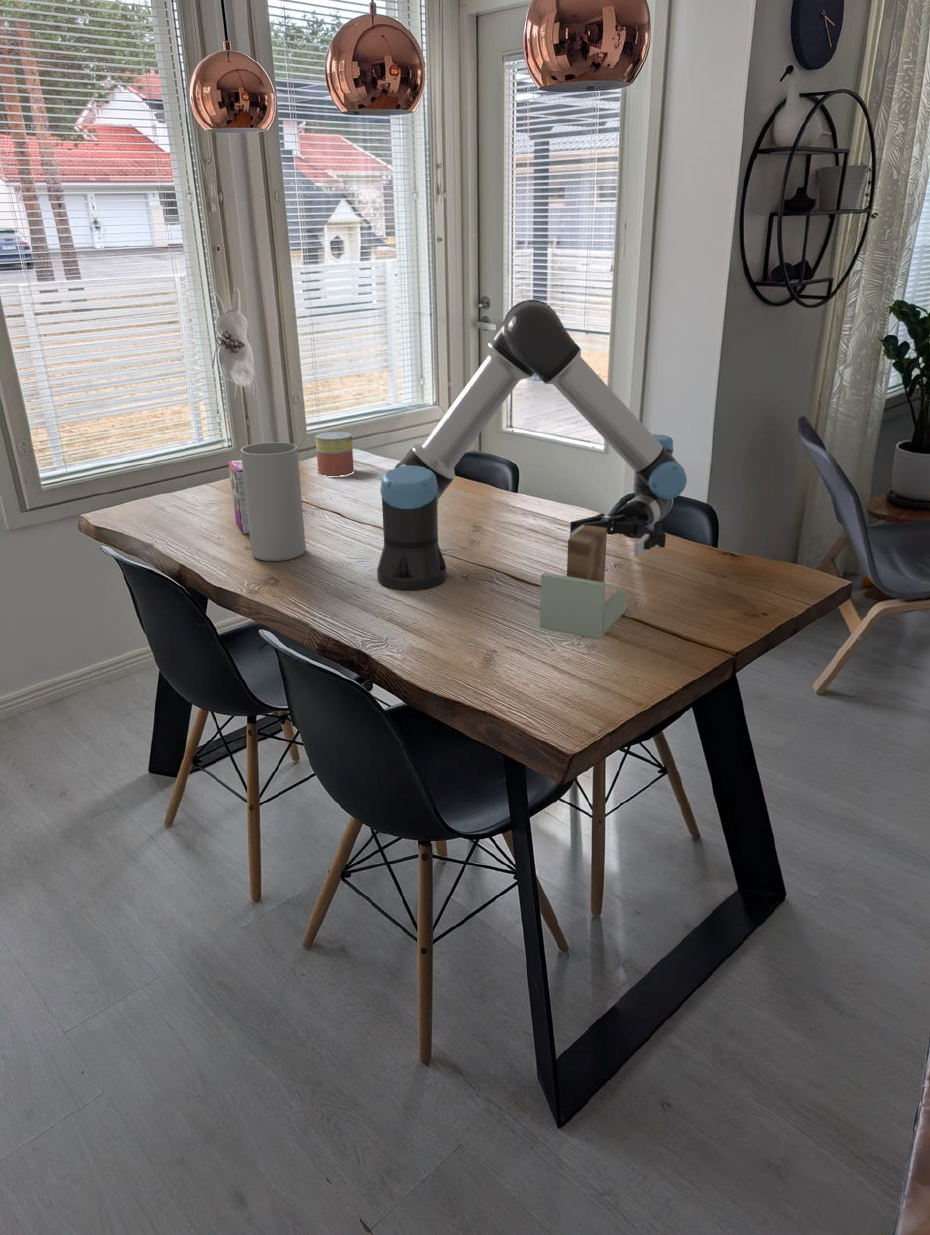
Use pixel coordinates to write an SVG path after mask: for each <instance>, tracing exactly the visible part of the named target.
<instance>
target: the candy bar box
mask: <svg viewBox="0 0 930 1235" xmlns="http://www.w3.org/2000/svg"><path fill="white" fill-rule="evenodd" d="M228 471H229V478H230V484H231V485H230V487H231V493H232V501H233V509H234V510H233V511H234V518H235V523H236V525H237V526H238V528H239V530H240V532H241V534H242V535H250V532H249V523H248V513H247V504H246V495H245V486H244V477H243V467H242V459H237V460H230V461H229V460H228Z"/></svg>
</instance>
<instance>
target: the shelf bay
mask: <svg viewBox="0 0 930 1235" xmlns="http://www.w3.org/2000/svg"><path fill="white" fill-rule="evenodd" d="M605 593H606V582H605V581H604V582H599V581H593V580H586V579H580V578H574V577H568V576H567V575H562V574H556V573H555V574H554V573H550V572H543V573H541V574H540V602H539V604H540V605H539V628H540V629H546V630H553V631H558V632H561V633H567V634H572V635H577V636H583V637H589V638H593V639H598V640H600V639H601V638H602V637H603V636H604V635H605V634H606V632H608V630H609V629H610V628H611V627H612V626H613V625H614V624H616V622H617V621H618V620H619V619H620V617H621V616H623V614H624V613H625V612H626V611H627V610H628V606H627V605H625V604H626V590H624V589H623V590H622V589H617V590H616V591H615V592H614V593H613V594H612V595H610V597H609V598H608V599H607V600H606V601H605V599H606V597H605V595H606V594H605Z"/></svg>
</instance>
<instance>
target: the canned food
mask: <svg viewBox="0 0 930 1235" xmlns="http://www.w3.org/2000/svg"><path fill="white" fill-rule="evenodd" d="M314 437H315V448H316V462H317V463H316V464H317V474H318V473H319V474H321V475H326V476H340V475H347V474H350V473H352V472H353V471H354V472H355V469H354V451H353V450H354V449H353V434H352V433H351V432H347V431H326V432H320V433H318V434H315V436H314Z"/></svg>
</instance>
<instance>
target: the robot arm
mask: <svg viewBox="0 0 930 1235" xmlns="http://www.w3.org/2000/svg"><path fill="white" fill-rule="evenodd" d="M487 347H488V348H487V349H488V355H487V357H486V358H485V359H484V360H483V362H482V363H481V364H480V366H479V367H478V368H477V370H476V372H474V374H473V375H472V377H471V378H470V379H469V381H468V382H467V384H466V385H465V386H464V387H463V389H462V390H461V392H460V393H459V394H458V396H457V397H456V399H455V400H454V401H453V403H452V404H451V405H450V407H449V408H448V409H447V410H446V412H445V413H444V415H443V416H442V417H441V419H440V420H439V422H438V423H437V424H436V425H435V427H434V428H433V430H432V431H431V432H430V434H429V435H428V436H427V438H426V439H425V441H424V442H422V443H418V444H417V443H416V444H413V445H412V446H411V448H410V449H409V450H408V452H407V453H406V455H405V456H404V457H403V458H402V459H401V460H400V461H399V463H397V464H396V465H395V466H394V468H392V469H389V470H387V471H386V472H385V473H384V474H383V475H382V478H381V481H380V482H381V484H380V489H379V490H380V495H381V507H382V511H381V512H382V529H383V530H382V532H383V533H382V534H383V548H382V551H381V555H380V557H379V561H378V566H377V569H376V573H377V574H376V577H377V582H378V583H379V584H380V585H382V586H384V587H387V588H390V589H394V590H402V591H415V590H425V589H429V588H434V587H437V586H439V585H441V584H443V583H444V582H445V581H446V580H447V577H448V568H447V565H446V562H445V559H444V557H443V556H444V555H443V554H442V551H441V548H440V545H439V526H438V525H439V524H438V522H439V520H438V519H439V517H438V515H439V514H438V506H439V499H440V498H441V496H442V495H443V494H444V492H445V491H446V490H447V489H448V487H449V486H450V485H451V483H452V482H453V481H454V480H455V478H456V473H455V467H456V466H457V464H458V462H460V460H461V459H462V458H463V456H464V455H465V454H466V452H467V451H468V450H469V449H470V447H471V446H472V444H473V443H474V442H475V440H476V439H477V438H478V437H479V435H480V433H482V431H483V430H484V429H485V427H486V426H487V424H488V423H489V422H490V421H491V420H492V418H493V416H494V415H495V414H496V413H497V411H498V410H499V409H500V408H501V407H502V405H503V403H504V402H505V401H506V399H507V398H508V397H509V396H510V394H511V393H512V392H513V390H514V389H515V388H516V387H517V385H518V384H519V382H520V381H521V380H524V379H531V378H532V377H533V376H534V374H535V375H536V376H537V377H538V378H539V379H540V380H541V381H542V382H543V383H544V384H545V385H552V386H553V387H555V388H556V389H557V391H559V393H560V394H561V395H562V396H563V397H564V398H565V399H566V400H567V401H568V403H570V404H571V405H572V406H573V407H574V408H575V409H576V411H578V413H580V415H581V416H582V417H583V418H584V419H585V420H586V421H587V422H588V423H589V424H590V425H591V426H592V428H594V430H596V432H597V433H598V434H599V435H600V436H601V437H602V438H603V440H605V441H606V442H607V443H608V444H609V446H611V448H612V449H613V450H614V451H615V452H616V453H617V454H618V455H619V456H620V457H621V458H622V459H623V460H624V461H625V462H626V464H628V465H629V466H630V467H631V469H632V470H633V471H634V472H635V473H636V476H635V477H636V480H635V491H634V497H633V498H632V499H631V500H629V501H628V502H627V503H625V504H624V505H622V506H621V508H620V509H619V510H618V511H617V513H616V515H615V516H609V517H605V516H606V515H605V514H606V513H605V514H604V513H599V514H597V515H594V516H590V517H587V518H581V519H578V520H573V521H571V522H570V529H569V530H570V532H569V539H570V538H571V537H573V536H574V535H575V534H576V533H578V532H579V531H580V530H582V529H583V528H584V527H586V526H587V525H589V526H597V527H604V528H607V535H616V534H618V535H623V536H624V537H627V538H630V539H638V540H637V541H636V542H634V557H637V558H639V557H640V556H641V555H642V554H643V553H644V552H645V551H646V550H651V549H652V548H655V547H656V546H658V547H659V548H665V547H666V539H667V535H666V533H665V531H664V529H663V527H662V521H661V520H662V519H664V518H665V517H667V515H668V514H669V512H671V509H672V507H673V504H674V498H677V497H678V496H679V495H681V494H682V492H684V491H685V488H686V486H687V483H688V479H687V478H688V477H687V474H686V471H685V468H684V467H683V466H682V465H681V464H680V463H679V462H678V460H676V458H675V457H674V456H673V455H674V454H673V453H674V440H673V438H672V437H670V436H669V435H666V434H657V433H655V434H652V433H651V431H649V429H648V428H647V427H646V426H645V425H644V424H643V422H641V421H640V420H639V419H638V418H637V416H636V415H635V414H634V413H633V411H631V410H630V409H629V407H628V406H626V404H625V403H624V402H623V401H622V400H621V399H620V398H619V397H618V395H616V394H615V393H614V391H613V390H612V389H611V388H610V387H609V385H608V384H606V382H605V381H604V380H603V379H602V378H601V377H600V376H599V375H598V373H596V372H595V370H593V368H592V367H591V366H590V365H589V364H588V363H587V362H586V361H585V360H584V358H583V357H582V348H580V346H579V345H578V344H577V343H576V342H575V340H574V339H573V338H572V337H571V335H570V334H569V333H568V331H567V330H566V327H564V325H563V323H562V321H561V319H560V317H559V315H558V314H557V313H556V310H554V309H553V307H551V305H548V304H547V303H546V302H544V301H543V300H542V301H541V300H540V299H539V300H537V299H526V300H522V301H521V302H520V301H519V302H517V303H516V304H515V305H513V306H512V307H511V308H510V309H509V310H508V311H507V314H505V318H504V319H503V322H502V323H501V325H500V327H499V328H498V329H497V331H496V332H495V333H494V335H492V337H491V338H490V340H489V341H488V342H487Z"/></svg>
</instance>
